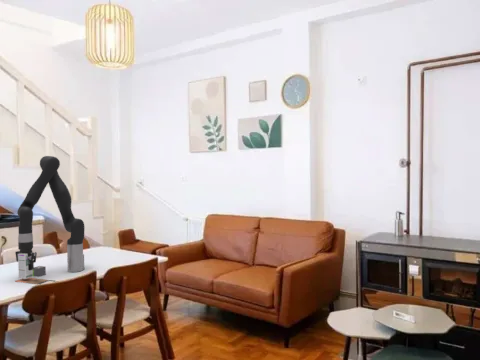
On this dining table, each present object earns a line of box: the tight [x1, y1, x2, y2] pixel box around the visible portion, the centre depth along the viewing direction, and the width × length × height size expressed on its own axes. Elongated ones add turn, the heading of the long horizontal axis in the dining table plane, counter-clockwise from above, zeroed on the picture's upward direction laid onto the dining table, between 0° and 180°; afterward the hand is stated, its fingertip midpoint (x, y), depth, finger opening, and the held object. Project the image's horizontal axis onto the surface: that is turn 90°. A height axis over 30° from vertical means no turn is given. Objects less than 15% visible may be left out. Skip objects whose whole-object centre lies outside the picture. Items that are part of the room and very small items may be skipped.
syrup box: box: [17, 253, 35, 279], centre depth 228 cm, size 6×6×14 cm
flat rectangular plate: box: [14, 277, 55, 285], centre depth 225 cm, size 8×25×1 cm, turn 70°
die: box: [34, 265, 47, 278], centre depth 239 cm, size 5×5×5 cm
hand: (26, 269), depth 228 cm, fingers closed on syrup box, 6 cm apart
